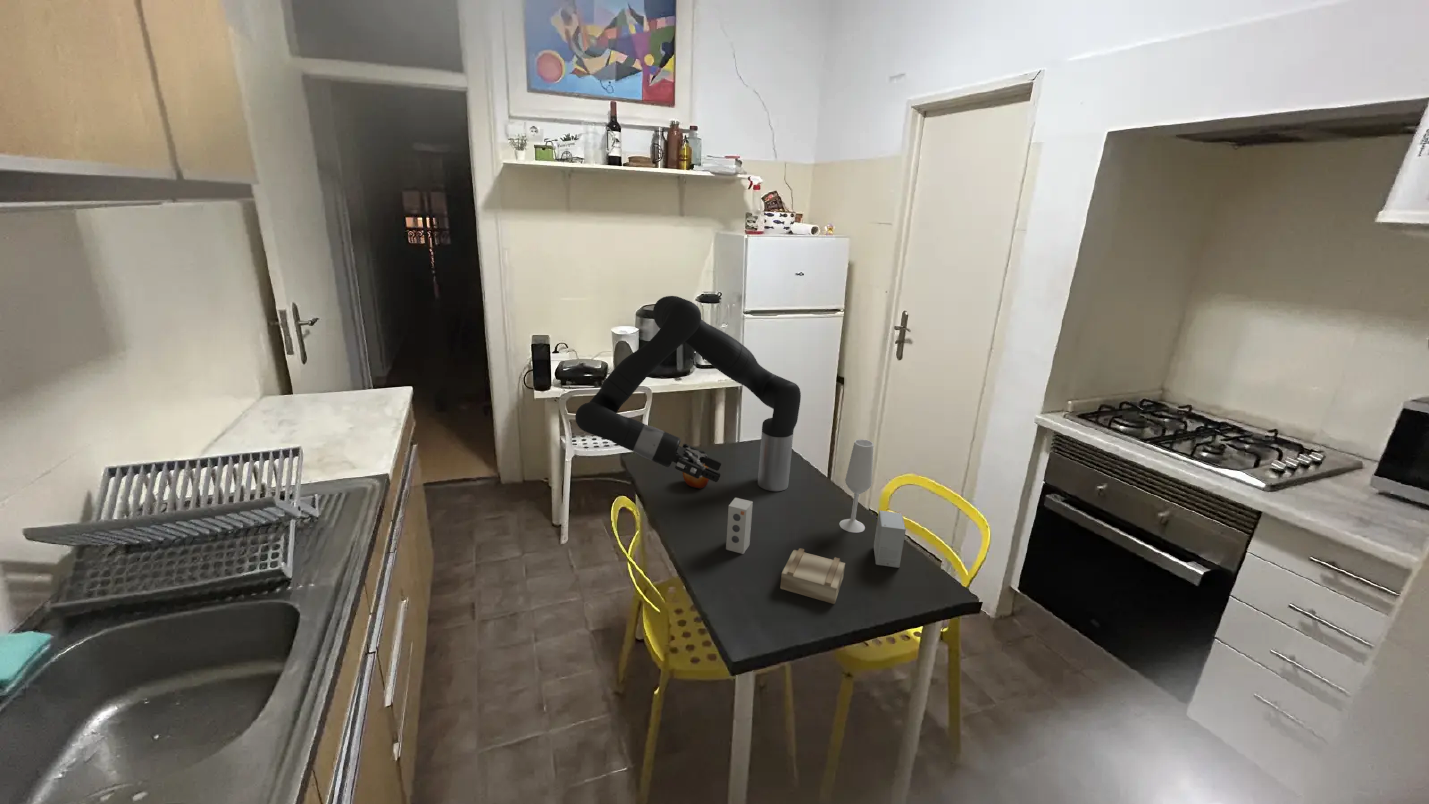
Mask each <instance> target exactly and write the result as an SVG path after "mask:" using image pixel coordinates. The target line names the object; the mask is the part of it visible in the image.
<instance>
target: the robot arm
mask: <svg viewBox="0 0 1429 804" xmlns="http://www.w3.org/2000/svg"><path fill="white" fill-rule="evenodd" d="M652 316H653V320H654V323H655V325H656V326H657V327H658V329H659V330H658V331H657V332H656V334H655V335H654V336H653V337H652V338H651V339H650V340H648V341H647V342H646V343H645V344H644V345H643V346H641V347H640V348H638V349H637V350H635V351H634V352H631V354H629V355H628V356H626V357H625V358H624V359H623V360H621V361H620V362H619V363H618V364H617V365H616V367H614V369H613V370H612V371H611V372H610V373H609V374H608V375H607V377H606V378H605V379H604V381H603V382H602V384H600V388H599V390H598V391H597V393H596V394H595V395H594V396H593V397H592V398H591V400H590V401H589V402H586V403H585V402H584V403H583V404H582V405H580V406H579V407H578V408H577V410H576V412H575V423H576V425H577V426H578V427H579V429H580V430H582V431H583V432H586V433H588V434H591V435H593V436H596V437H598V438H601V439H604V440H606V441H609V442H613V444H616V445H618V446H619V447H621V448H624V449H626V450H629V451H630V452H634V453H635V454H637V455H638V456H641V457H642V458H643V459H644V458H645V459H647V460H650V461H651V462H654V463H656V464H658V465H661V466H664V467H666V468H669V467H670V466H671V465H672V463H673V462H674V464H675V466H674V469H676V470H677V471H679V472H681V473H683V472H684V473H686V474H688V475H690V476H693V477H695V478H697V479H699V477H705V478H707V479H709V480H710V481H712V482H715V483H718V482H719V480H720V477H721V473H720V472H718V471H719V470H720V468H721V465H722V462H721V461H719V460H717V459H715V458H712V457H710V456H708V455H707V453H706V451H704V450H701V449H699V448H696V447H694V446H693V445H690V444H687V443H682V446H680V443H681V440H682V439H681V438H680V437H678V436H676V435H673V434H672V433H669V432H667V431H665V430H662V429H660V428H658V427H655V426H652V425H648V424H645V423H643V422H640V421H638V420H636V419H633V418H631V417H628V416H625V415H621V414H620V413H618V411H619V410H620V408H621V407H622V406H623V404H625V402H627V401H628V400H629V398H631V396H632V395H633V394H634V393H635V392H636V390H637V389H638V388H639V387H640V386H641V384H642V383H643V382H644V380H646V378H648V376H650V374H651V373H653V371H654V370H655V369H656V368H657V367H658V366H659V365H660V364H662V363H663V362H664V361H665V360H666V359H667V358H668V357H669V356H671V354H673V352H675V351H676V350H677V349H678V348H680V347H681V346H682V344H684V343H685V344H686V345H688V346H689V347H690V348H691V349H693V351H695V352H696V353H697V354H698V355H699V356H700V357H702V359H704V360H705V361H706V362H707V363H709V365H711V366H712V367H714V368H715V369H716V370H717V371H719V372H720V373H721V374H723V375H724V376H726V377H727V378H729V379H730V380H732V381H734V382H736V383H738V384H739V385H742V386H744V387H745V388H747V389H748V390H749V391H750V392H751V393H752V394H754V395H755V396H756V397H757V399H759V401H760V402H761V403H762V404H763V405H765V406H767V407H769V408H771V409H773V410H772V411H773V412H772V417H768V418H766V419H764V420H763V422H762V424H761V436H760V448H759V451H760V452H759V463H758V474H757V485H758V486H759V487H760V488H761V489H763V490H765V491H770V492H781V491H784V490H787V488H788V487H789V481H790V480H789V479H790V472H791V462H792V461H791V460H792V451H793V440H794V439H793V438H794V431H795V427H796V426H797V423H798V419H799V414H800V413H799V412H800V406H801V397H802V396H801V395H802V394H801V393H802V392H801V388H800V387H799V385H798V384H797V383H796V382H793V381H790V380H789V379H786V378H783V377H781V376H779V375H778V374H777V375H776V374H774V373H772V372H770V371H769V370H767V369H766V368H764V367H763V366H762V365H761V364H759V362H758V361H757V359H756V357H755V355H754V354H753V353H752V351H751V350H750V349H748V348H747V346H745V345H743V344H742V343H741V342H740V341H739V340H737V339H735V338H734V337H733V336H731V335H729V334H727V333H726V332H724V331H722V330H720V329H719V328H717V327H715V326H712V325H711V324H709V323H708V322H705V321H704V320H703V319H702V312H701V310H700V308H699V306H698V305H697V304H695V303H694V302H693V301H690V300H688V299H686V298H685V299H684V298H682V297H680V296H677V295H667V296H663V297H661V298H659V299H658V300H657V301H656V302H655V304H654V306H653V309H652ZM703 465H705V466H707V467H708V468H707V467H705V466H703Z"/></svg>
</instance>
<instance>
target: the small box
mask: <svg viewBox="0 0 1429 804" xmlns="http://www.w3.org/2000/svg"><path fill="white" fill-rule="evenodd" d="M906 530H907V529H906V524H905V521H904V516H903V513H901V512H893V511H887V510H878V515H877V522H876V528H875V535H874V541H873V551H874V552H873V553H874V561H875V565H876V566H882V567H883V566H885V567H891V568H900V566H901V559H902V556H903V555H902V554H903V548H904V544H905V543H904V542H905V536H906Z"/></svg>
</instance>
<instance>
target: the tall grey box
mask: <svg viewBox="0 0 1429 804" xmlns="http://www.w3.org/2000/svg"><path fill="white" fill-rule="evenodd" d="M753 503H754V502H753V501H752V500H747V499H743V498H739V497H734V498H733V500H732V501H731V502H730V504H728V510H727V511H728V512H727V513H728V514H727V527H726V542H725V550H727V551H731V552H734V553H737V554H741V555H744V554H745V552H746V550H748V548H749V546H750V544H751V542H750V541H751V531H752V530H751V528H752V517H753Z"/></svg>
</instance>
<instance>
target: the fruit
mask: <svg viewBox="0 0 1429 804" xmlns="http://www.w3.org/2000/svg"><path fill="white" fill-rule="evenodd" d="M703 466H705V465H703ZM705 467H707V466H705ZM707 468H709V467H707ZM682 478H683V480H684V482H685V484H686V485H687V486H689V487H691V488H696V489H704V488H705V487H706V486H707V485H708V483H709V479H707V478H705V477H699V479H697V478H695V477H693V476H690V475H688V474H686V473H684V472H682Z"/></svg>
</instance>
